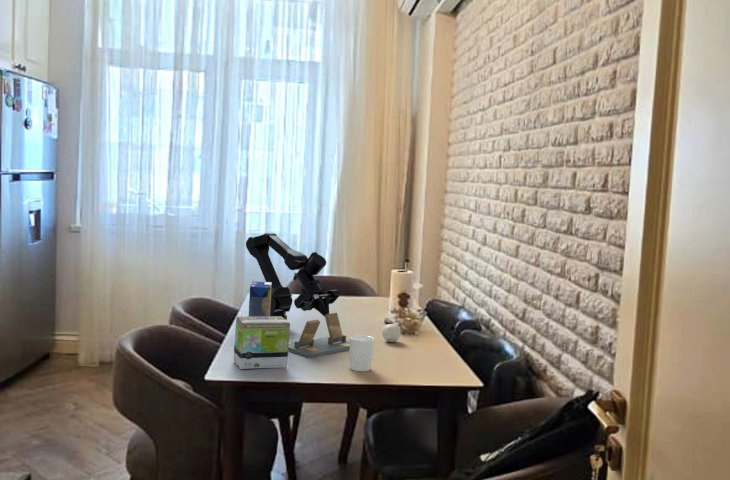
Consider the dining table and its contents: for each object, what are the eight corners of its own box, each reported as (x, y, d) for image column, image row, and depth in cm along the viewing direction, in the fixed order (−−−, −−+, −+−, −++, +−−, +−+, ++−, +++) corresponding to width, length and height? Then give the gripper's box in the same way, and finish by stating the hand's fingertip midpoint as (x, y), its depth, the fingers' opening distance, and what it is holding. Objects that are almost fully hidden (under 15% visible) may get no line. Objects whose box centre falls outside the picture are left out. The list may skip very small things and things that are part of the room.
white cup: (347, 364, 229) (349, 334, 228) (371, 365, 230) (373, 335, 229) (348, 371, 221) (350, 340, 220) (373, 372, 222) (375, 341, 221)
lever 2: (331, 343, 250) (324, 315, 252) (341, 341, 254) (334, 313, 256) (333, 342, 250) (327, 314, 252) (343, 340, 253) (336, 312, 255)
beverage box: (268, 344, 249) (271, 282, 247) (267, 352, 238) (270, 287, 236) (248, 343, 248) (252, 281, 246) (246, 351, 237) (250, 286, 235)
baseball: (378, 342, 261) (379, 324, 261) (385, 338, 268) (386, 321, 267) (395, 345, 259) (397, 327, 258) (402, 341, 266) (403, 323, 265)
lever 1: (297, 345, 242) (307, 321, 238) (307, 343, 245) (317, 319, 242) (299, 347, 241) (309, 323, 237) (310, 345, 245) (320, 321, 241)
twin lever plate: (281, 348, 244) (281, 338, 243) (331, 339, 261) (331, 330, 261) (308, 357, 234) (309, 347, 234) (358, 347, 252) (359, 338, 251)
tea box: (240, 370, 215) (242, 323, 214) (233, 361, 224) (235, 315, 223) (288, 368, 221) (290, 321, 220) (278, 359, 230) (281, 314, 229)
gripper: (316, 293, 272) (334, 327, 266) (278, 297, 259) (297, 333, 252) (331, 276, 266) (350, 310, 260) (294, 279, 253) (313, 315, 246)
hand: (328, 317), depth 255 cm, fingers closed
